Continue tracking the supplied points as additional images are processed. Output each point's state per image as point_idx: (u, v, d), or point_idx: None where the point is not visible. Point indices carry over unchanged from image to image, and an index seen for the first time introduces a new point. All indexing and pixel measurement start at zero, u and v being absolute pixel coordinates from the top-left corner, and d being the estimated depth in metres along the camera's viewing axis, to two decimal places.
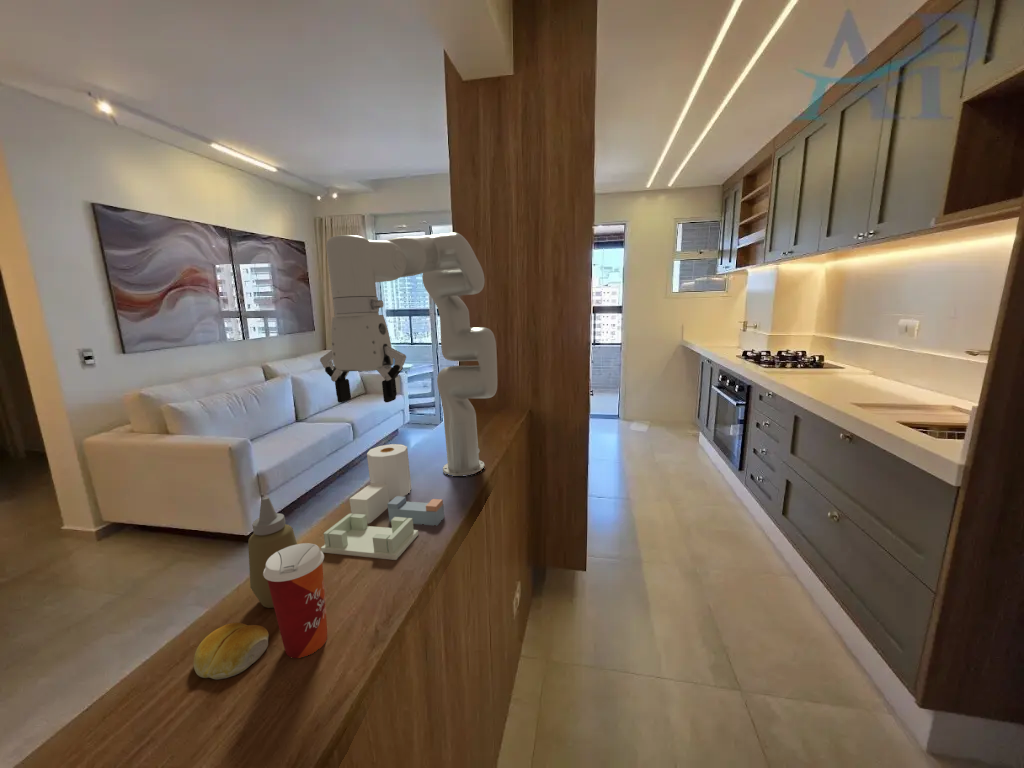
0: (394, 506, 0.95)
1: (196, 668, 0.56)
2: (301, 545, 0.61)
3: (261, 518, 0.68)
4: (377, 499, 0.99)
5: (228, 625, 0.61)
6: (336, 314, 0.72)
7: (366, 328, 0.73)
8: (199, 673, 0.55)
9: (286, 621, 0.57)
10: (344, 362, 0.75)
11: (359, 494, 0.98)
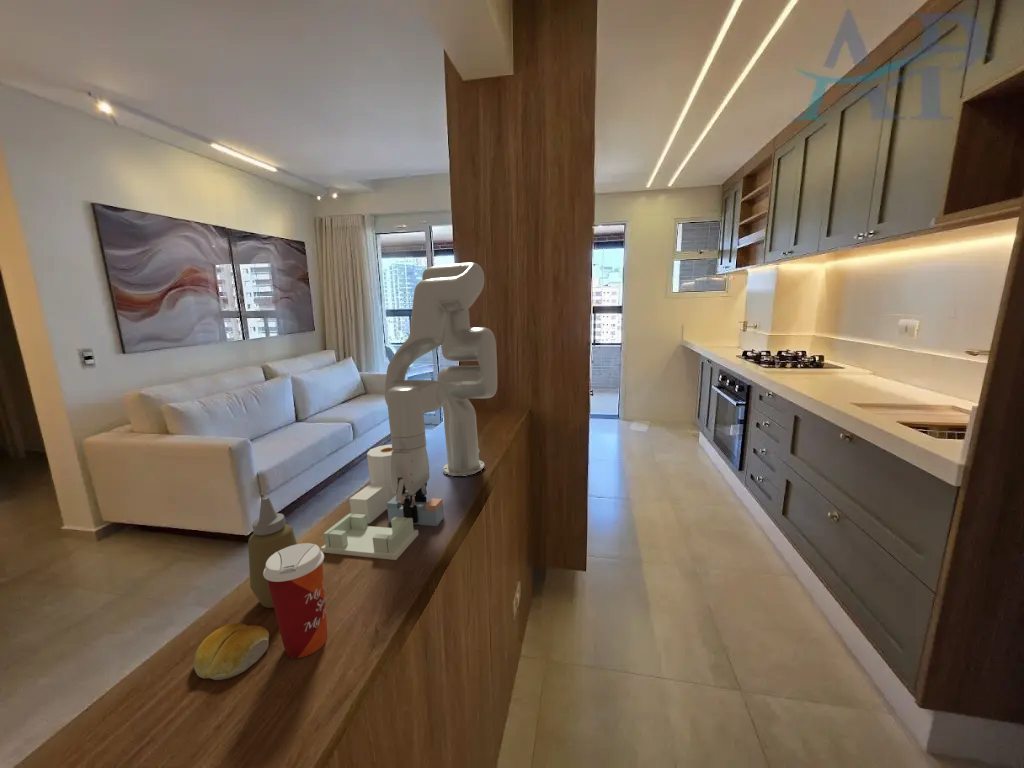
0: (393, 506, 0.95)
1: (196, 669, 0.55)
2: (301, 545, 0.61)
3: (261, 518, 0.68)
4: (377, 499, 0.99)
5: (228, 626, 0.60)
6: (418, 448, 0.91)
7: (425, 452, 0.96)
8: (199, 674, 0.55)
9: (286, 621, 0.57)
10: (416, 485, 0.92)
11: (359, 494, 0.98)
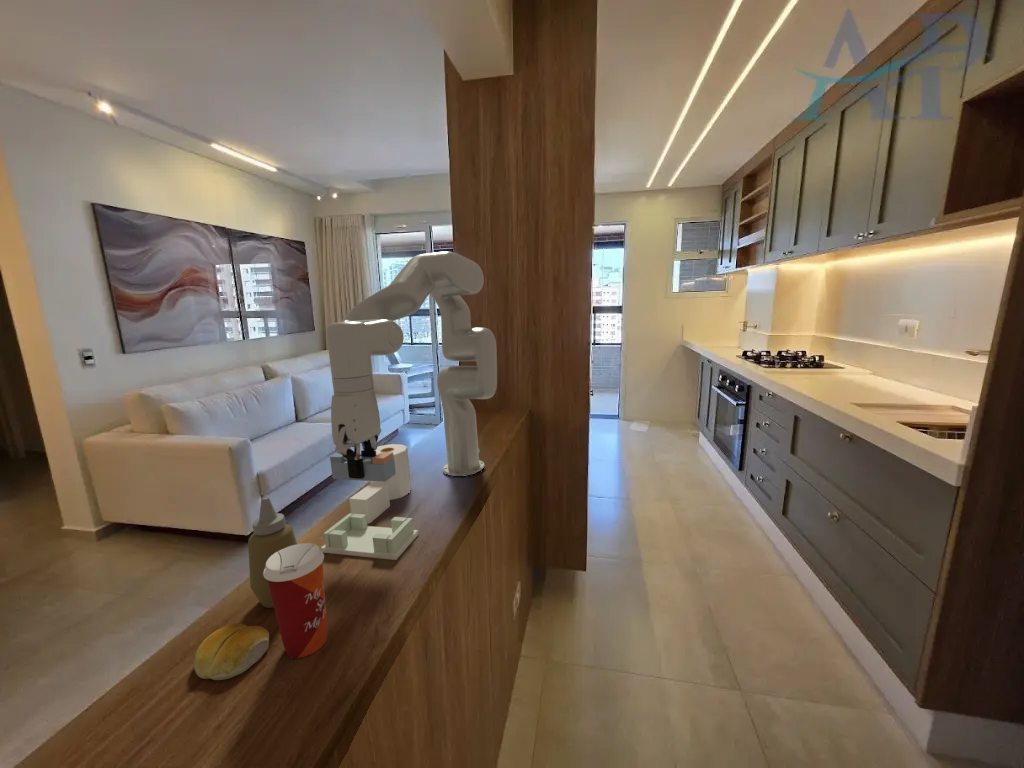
0: (337, 460, 0.83)
1: (197, 669, 0.55)
2: (301, 545, 0.61)
3: (261, 518, 0.68)
4: (377, 499, 0.99)
5: (229, 626, 0.60)
6: (362, 391, 0.79)
7: (374, 400, 0.85)
8: (200, 674, 0.55)
9: (286, 621, 0.57)
10: (362, 435, 0.81)
11: (359, 494, 0.98)
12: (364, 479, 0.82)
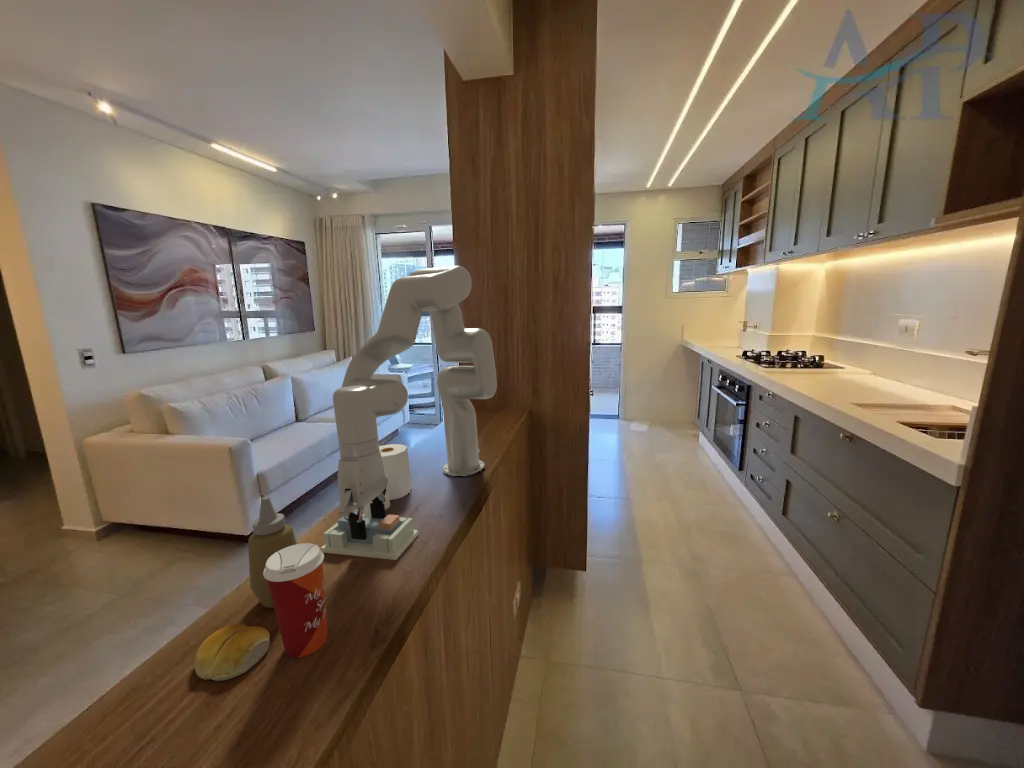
0: (345, 524, 0.85)
1: (197, 670, 0.55)
2: (301, 545, 0.61)
3: (261, 518, 0.68)
4: None
5: (229, 626, 0.60)
6: (368, 455, 0.81)
7: (379, 459, 0.87)
8: (200, 675, 0.55)
9: (286, 621, 0.57)
10: (368, 497, 0.82)
11: None
12: (371, 543, 0.85)
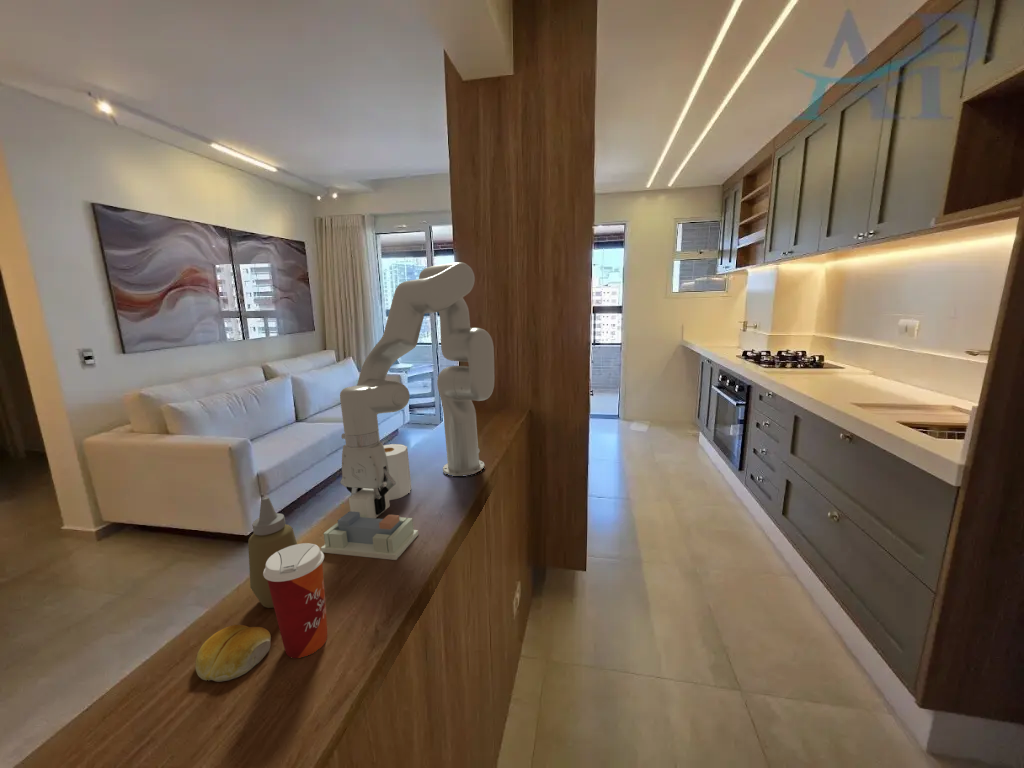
0: (345, 524, 0.85)
1: (198, 670, 0.55)
2: (301, 545, 0.61)
3: (261, 518, 0.68)
4: None
5: (230, 627, 0.60)
6: None
7: None
8: (201, 675, 0.55)
9: (286, 621, 0.57)
10: None
11: (358, 494, 0.97)
12: (371, 543, 0.85)
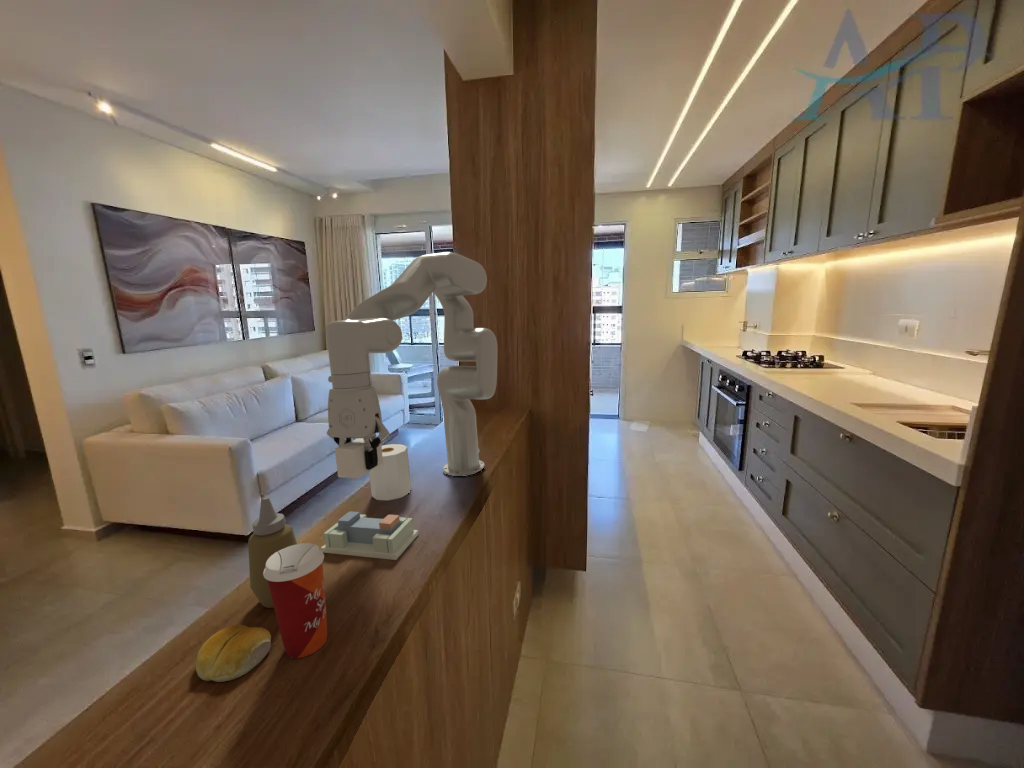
0: (345, 524, 0.85)
1: (198, 671, 0.55)
2: (301, 545, 0.61)
3: (261, 518, 0.68)
4: None
5: (230, 627, 0.60)
6: None
7: None
8: (201, 676, 0.55)
9: (286, 621, 0.57)
10: None
11: (346, 445, 0.85)
12: (371, 543, 0.85)
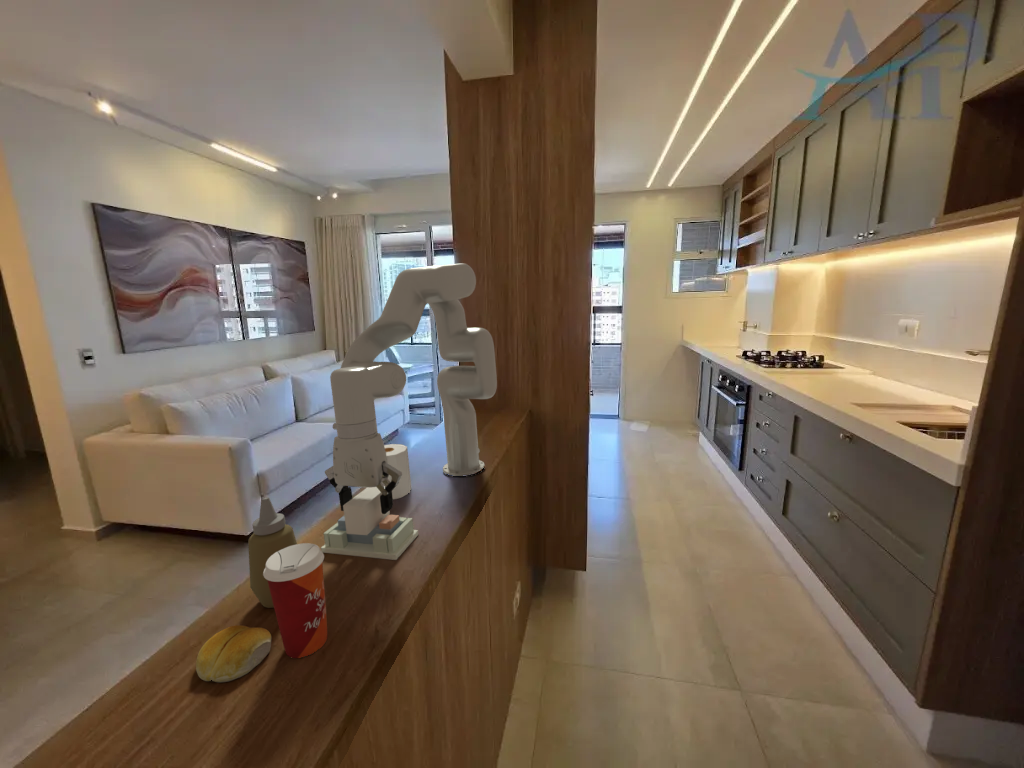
0: None
1: (199, 671, 0.55)
2: (301, 545, 0.61)
3: (261, 518, 0.68)
4: (376, 506, 0.85)
5: (230, 628, 0.60)
6: None
7: None
8: (202, 676, 0.55)
9: (286, 621, 0.57)
10: None
11: (354, 500, 0.83)
12: (371, 543, 0.85)
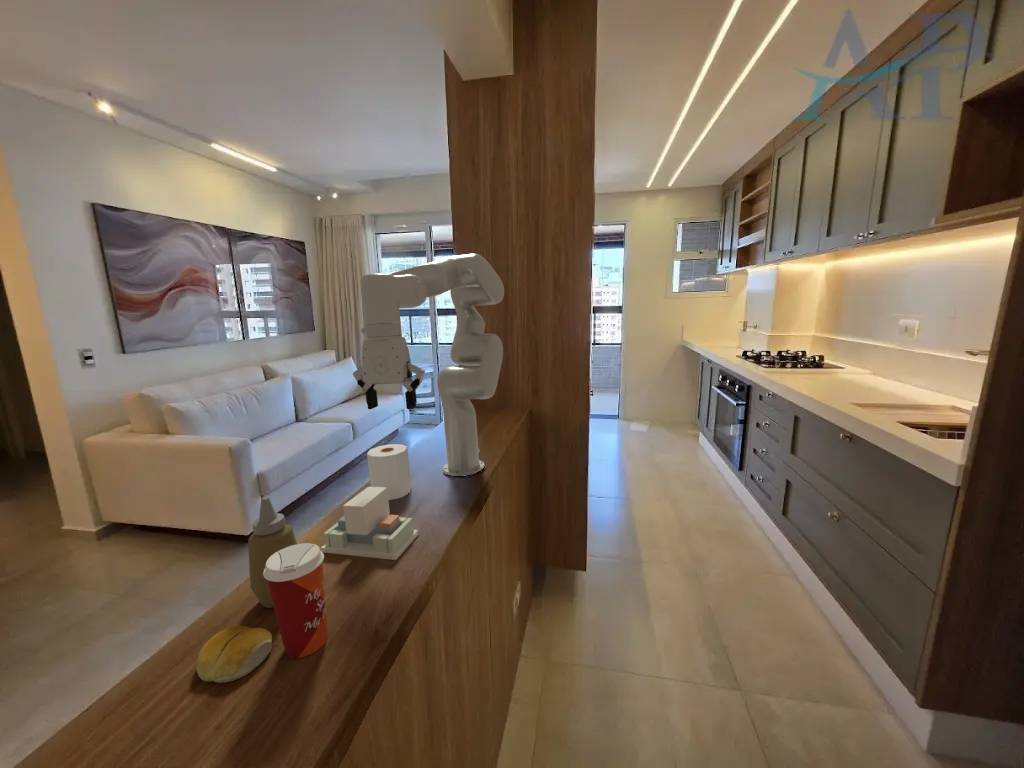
0: None
1: (199, 672, 0.55)
2: (301, 545, 0.61)
3: (261, 518, 0.68)
4: (376, 506, 0.85)
5: (231, 628, 0.60)
6: None
7: None
8: (202, 677, 0.55)
9: (286, 621, 0.57)
10: None
11: (354, 500, 0.83)
12: (371, 543, 0.85)
